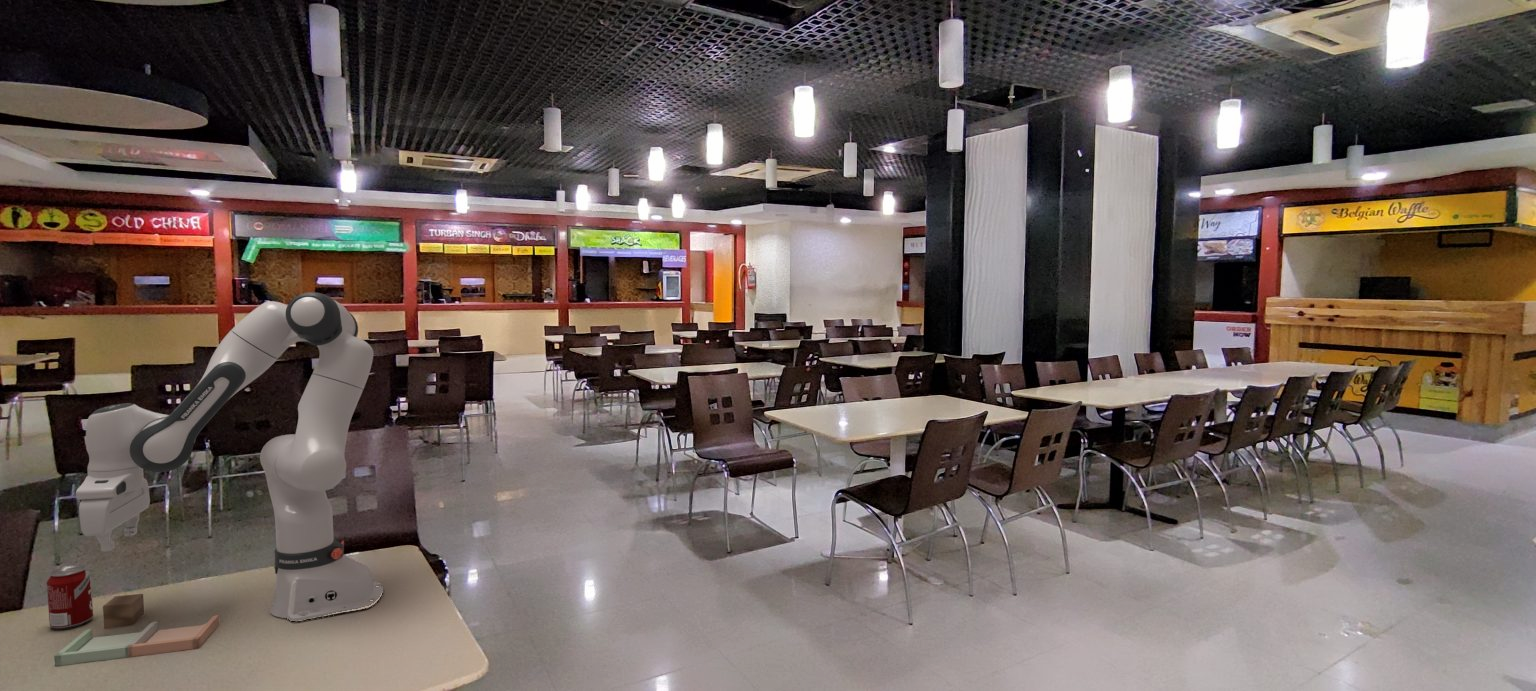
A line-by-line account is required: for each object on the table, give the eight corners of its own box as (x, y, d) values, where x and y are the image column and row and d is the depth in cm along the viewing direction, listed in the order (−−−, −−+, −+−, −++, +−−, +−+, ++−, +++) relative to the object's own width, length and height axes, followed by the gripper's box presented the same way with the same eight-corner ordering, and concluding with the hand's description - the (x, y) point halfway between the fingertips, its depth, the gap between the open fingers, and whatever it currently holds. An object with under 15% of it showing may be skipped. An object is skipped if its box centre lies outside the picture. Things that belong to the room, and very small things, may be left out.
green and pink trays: (219, 623, 157) (218, 614, 157) (198, 648, 147) (198, 638, 147) (86, 638, 149) (86, 629, 149) (54, 666, 139) (54, 656, 139)
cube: (144, 615, 160) (143, 593, 160) (133, 625, 156) (131, 603, 155) (116, 618, 159) (115, 596, 158) (104, 628, 154) (102, 606, 154)
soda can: (66, 632, 152) (62, 577, 151) (41, 629, 153) (37, 574, 152) (101, 618, 158) (98, 565, 157) (77, 614, 160) (73, 562, 159)
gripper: (123, 468, 163) (126, 528, 165) (70, 494, 144) (74, 561, 145) (157, 467, 166) (160, 525, 167) (109, 491, 146) (113, 558, 147)
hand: (119, 542), depth 156 cm, fingers open, 8 cm apart
